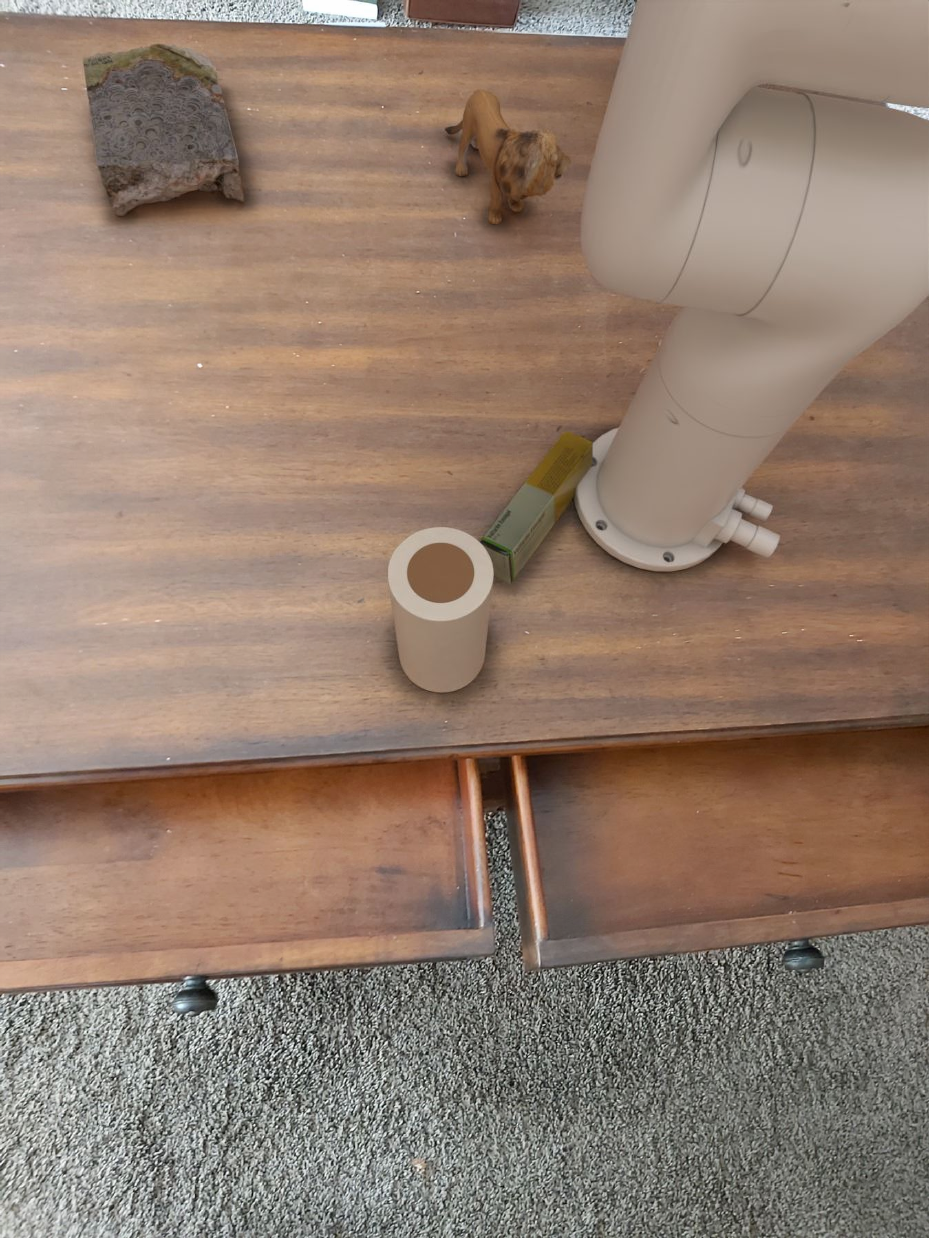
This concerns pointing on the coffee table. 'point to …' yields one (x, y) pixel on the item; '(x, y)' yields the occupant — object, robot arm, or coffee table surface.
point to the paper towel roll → (441, 606)
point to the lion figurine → (508, 154)
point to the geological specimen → (159, 126)
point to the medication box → (537, 505)
